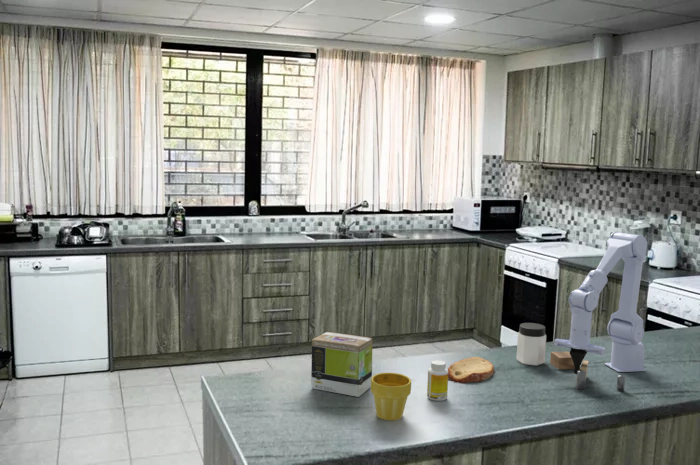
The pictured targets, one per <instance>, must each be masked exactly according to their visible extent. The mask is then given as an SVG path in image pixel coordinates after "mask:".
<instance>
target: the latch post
mask: <svg viewBox="0 0 700 465" xmlns="http://www.w3.org/2000/svg"><path fill="white" fill-rule="evenodd" d="M616 381H617V382H616V391H617V392H620V391H621V392H625V382H626V375H624V374H617V380H616Z"/></svg>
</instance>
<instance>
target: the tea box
mask: <svg viewBox="0 0 700 465" xmlns="http://www.w3.org/2000/svg"><path fill="white" fill-rule="evenodd" d="M310 375H311V379H310V380H311V389H314V390H317V391H318V390H319V391H324V392H330V393H336V394H340V395H341V394H342V395H345V396H346V395H347V396H351V397H357V398H359V397H360V396H362V395H363V394H364V393H366V392H367V391H368V390H369V389H371V378H372V377H373V376H372V375H373V338H372V337H368V336H362V335H361V336H359V335H354V334H353V335H352V334H345V333H338V332H331V331H326V332H324V333H322V334H320V335H318V336H317V337H314V338H312V339H311V374H310Z"/></svg>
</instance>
